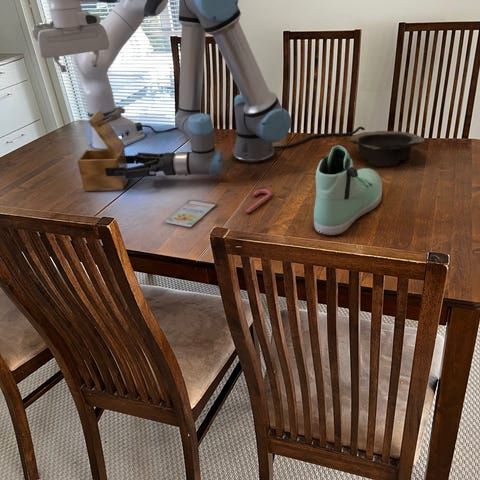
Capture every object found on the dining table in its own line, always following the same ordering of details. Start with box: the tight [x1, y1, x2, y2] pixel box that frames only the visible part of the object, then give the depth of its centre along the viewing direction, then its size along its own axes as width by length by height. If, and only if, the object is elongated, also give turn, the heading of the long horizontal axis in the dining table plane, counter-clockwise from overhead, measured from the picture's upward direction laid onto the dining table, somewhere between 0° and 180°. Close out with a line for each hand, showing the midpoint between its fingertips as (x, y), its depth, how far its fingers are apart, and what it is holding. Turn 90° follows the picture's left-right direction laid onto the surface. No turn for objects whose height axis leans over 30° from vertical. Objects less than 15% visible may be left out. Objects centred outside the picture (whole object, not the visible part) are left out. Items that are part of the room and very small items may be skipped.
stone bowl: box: [349, 130, 426, 167], centre depth 167 cm, size 25×25×9 cm
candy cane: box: [245, 188, 273, 215], centre depth 146 cm, size 6×15×2 cm, turn 145°
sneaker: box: [313, 145, 383, 236], centre depth 133 cm, size 14×35×20 cm, turn 152°
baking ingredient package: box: [164, 200, 216, 228], centre depth 143 cm, size 9×1×15 cm
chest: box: [77, 148, 130, 192], centre depth 162 cm, size 13×9×11 cm
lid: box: [88, 106, 126, 159], centre depth 154 cm, size 14×9×8 cm
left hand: (79, 69), depth 145 cm, fingers open, 8 cm apart
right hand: (111, 165), depth 161 cm, fingers closed on chest, 9 cm apart
